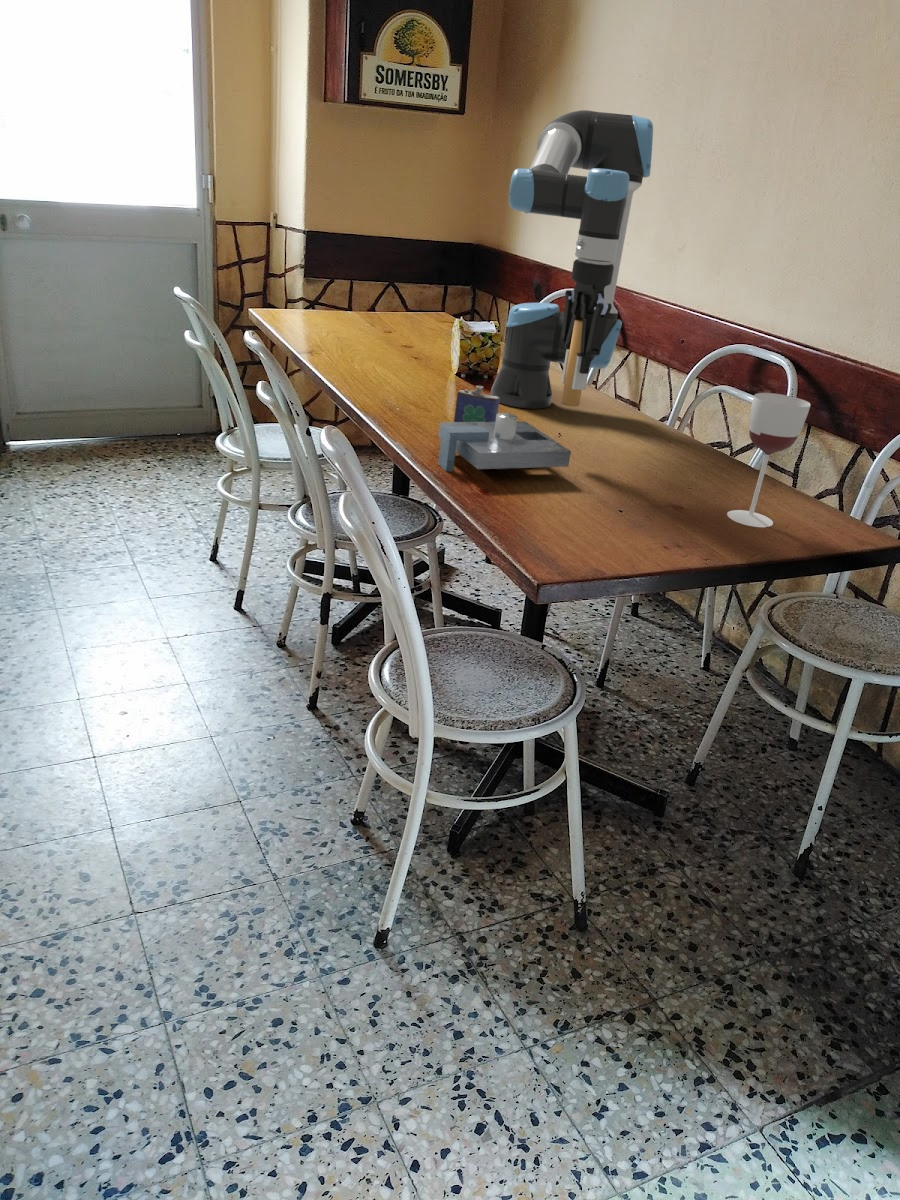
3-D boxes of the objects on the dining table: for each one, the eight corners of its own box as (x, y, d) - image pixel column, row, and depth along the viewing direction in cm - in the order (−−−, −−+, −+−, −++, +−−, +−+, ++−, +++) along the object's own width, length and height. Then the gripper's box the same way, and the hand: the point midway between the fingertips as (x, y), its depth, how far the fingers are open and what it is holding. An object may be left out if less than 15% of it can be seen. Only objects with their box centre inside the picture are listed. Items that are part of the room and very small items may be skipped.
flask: (495, 437, 198) (502, 388, 193) (492, 441, 195) (499, 390, 190) (454, 430, 199) (459, 380, 195) (450, 433, 197) (456, 383, 192)
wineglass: (716, 507, 172) (746, 391, 163) (765, 511, 174) (797, 395, 164) (733, 525, 165) (765, 404, 155) (784, 529, 166) (819, 409, 156)
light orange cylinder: (573, 401, 186) (587, 319, 178) (582, 406, 183) (596, 324, 175) (557, 401, 184) (571, 319, 177) (566, 406, 181) (580, 323, 174)
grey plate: (521, 449, 192) (528, 402, 187) (565, 481, 176) (574, 430, 172) (423, 451, 183) (428, 402, 179) (461, 485, 168) (468, 431, 163)
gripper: (555, 252, 176) (537, 374, 187) (600, 267, 163) (577, 398, 174) (589, 254, 179) (569, 374, 190) (635, 269, 166) (611, 398, 177)
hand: (573, 385), depth 182 cm, fingers closed on light orange cylinder, 4 cm apart
